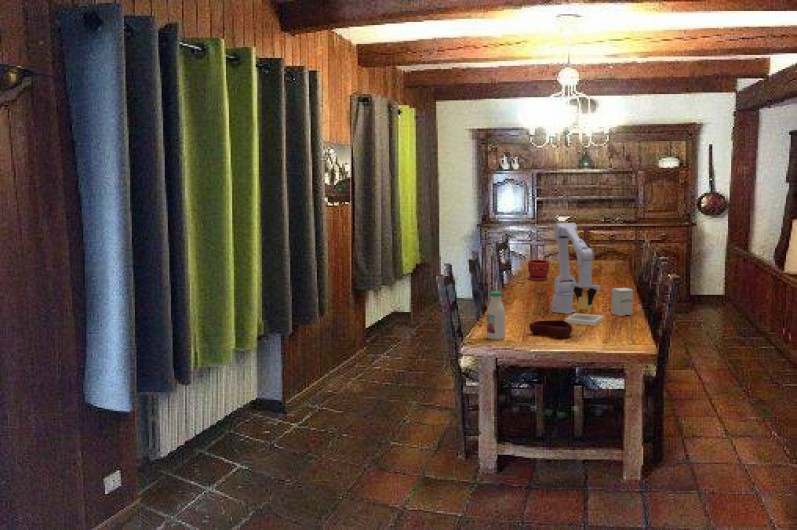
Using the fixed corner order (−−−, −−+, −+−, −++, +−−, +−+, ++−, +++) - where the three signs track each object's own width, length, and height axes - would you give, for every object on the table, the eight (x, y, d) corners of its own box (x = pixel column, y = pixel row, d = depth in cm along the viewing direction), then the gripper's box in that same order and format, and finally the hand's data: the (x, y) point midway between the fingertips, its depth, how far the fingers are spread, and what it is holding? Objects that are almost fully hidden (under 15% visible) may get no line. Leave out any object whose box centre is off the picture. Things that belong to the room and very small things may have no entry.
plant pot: (526, 281, 449) (526, 262, 448) (529, 277, 462) (529, 259, 460) (548, 281, 446) (548, 262, 444) (550, 278, 458) (550, 259, 456)
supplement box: (619, 316, 342) (620, 290, 340) (610, 313, 349) (611, 288, 347) (633, 315, 344) (633, 289, 342) (624, 312, 351) (624, 287, 349)
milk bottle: (503, 335, 311) (503, 290, 308) (506, 339, 304) (506, 293, 301) (485, 336, 311) (485, 290, 308) (488, 340, 303) (488, 293, 301)
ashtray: (581, 333, 312) (581, 322, 311) (563, 341, 300) (563, 329, 299) (545, 328, 324) (545, 317, 323) (526, 335, 312) (526, 324, 311)
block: (578, 308, 333) (578, 297, 332) (583, 306, 336) (583, 295, 336) (587, 309, 330) (587, 298, 329) (592, 307, 333) (592, 296, 333)
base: (564, 323, 332) (564, 318, 331) (574, 317, 343) (574, 313, 343) (595, 326, 324) (595, 321, 324) (604, 320, 336) (604, 315, 336)
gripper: (566, 274, 333) (566, 303, 335) (595, 277, 323) (595, 307, 325) (574, 272, 338) (573, 301, 340) (602, 275, 328) (602, 304, 330)
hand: (584, 304), depth 333 cm, fingers closed on block, 5 cm apart
